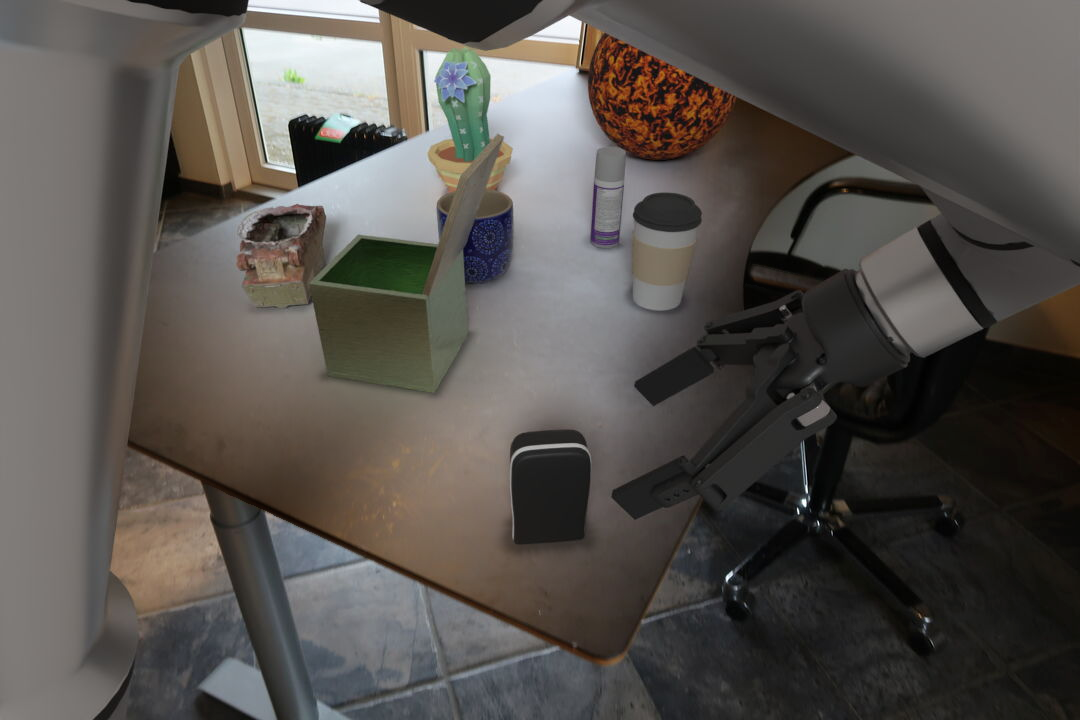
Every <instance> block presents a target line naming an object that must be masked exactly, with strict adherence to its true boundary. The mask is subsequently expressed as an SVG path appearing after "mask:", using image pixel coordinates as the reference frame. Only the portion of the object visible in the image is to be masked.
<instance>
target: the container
mask: <svg viewBox="0 0 1080 720" xmlns="http://www.w3.org/2000/svg"><path fill="white" fill-rule="evenodd" d="M626 157H627V152H626V151H625V150H623V149H621V148H620V147H618V146H604V147H600V148H598V149H597V150H596V155H595V167H594V178H593V191H592V207H591V223H590V244H591V245H593V246H594V247H597V248H600V249H611V248H616V247H617V246H618V245H619V243H620V236H621V235H620V234H621V223H622V211H623V202H624V201H623V200H624V189H625V175H626V159H627V158H626Z"/></svg>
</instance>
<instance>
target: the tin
mask: <svg viewBox="0 0 1080 720" xmlns="http://www.w3.org/2000/svg"><path fill="white" fill-rule="evenodd" d="M438 244H439V243H434V242H423V241H415V240H409V239H408V240H407V239H400V238H399V239H398V238H392V237H391V238H390V237H382V236H373V235H366V234H365V235H364V234H357V235H356V236H355V237H354V238H353V239H352V240H351V241H350V242H349V243H347V245H345V247H344V248H343V249H342V250H341V251H340V252H339V253H338V254H337V255H336V256H335V257H334V258H333V259H331V261H330V262H329V263H328V264H327V265H326V266H325V267H323V269H321V271H320V273H319V274H318V275H317V276H316V277H315V278H314V279H313V280H312V281H311V282H310V283H309V286H310V291H311V296H310V297H311V300H312V304H313V309H314V315H315V319H316V324H317V329H318V335H319V339H320V340H319V341H320V344H321V349H322V354H323V359H324V364H325V369H326V374H327V376H328V377H332V378H337V379H342V380H343V379H344V380H351V381H356V382H363V383H370V384H374V385H375V384H376V385H381V386H388V387H395V388H401V389H407V390H414V391H420V392H424V393H425V392H426V393H432V394H435V393H436V391H437V390H438V388H439V386H440V385H441V383H442V381H443V379H444V378H445V376H446V374H447V372H448V370H449V369H450V367H451V365H452V364H453V362H454V360H455V358H456V357H457V355H458V353H459V351H460V349H461V348H462V347H463V344H464V342H465V341H466V339H467V337H468V335H469V334H468V314H467V297H466V282H465V277H464V259H463V249H462V251H461V252H460V254H459V255H458V256H457V258H456V259H455V261H454V262H453V264H452V265H451V266H450V268H449V269H448V271H447V272H446V273H445V275H444V276H443V278H442V279H441V280H440V282H439V283H438V285H437V286H436V288H435V289H434V290H433V292H432V293H431V295H430V296H426V295H424V294H422V293H423V290H424V287H425V284H426V281H427V278H428V274H429V271H430V268H431V265H432V262H433V259H434V256H435V253H436V250H437V247H438Z"/></svg>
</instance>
